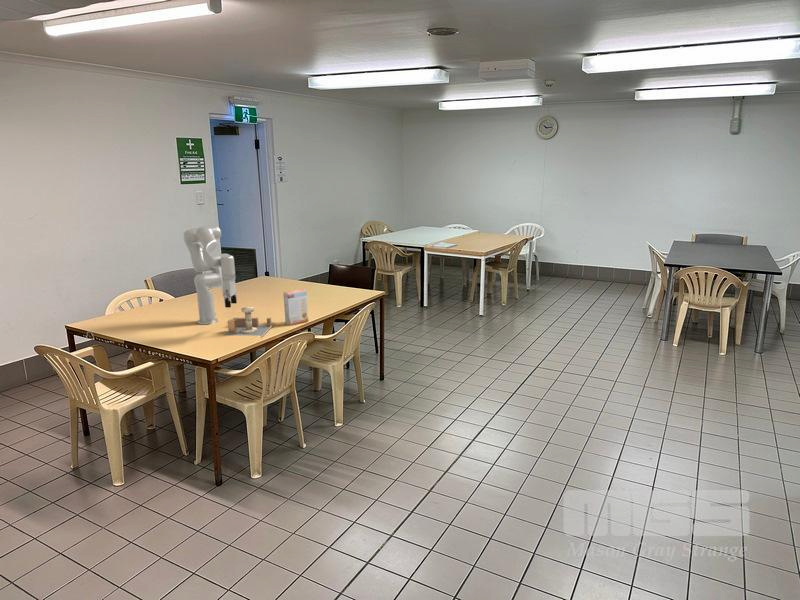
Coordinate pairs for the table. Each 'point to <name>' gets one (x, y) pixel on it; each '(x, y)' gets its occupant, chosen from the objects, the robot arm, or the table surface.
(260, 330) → the grey board with ledge
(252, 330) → the bobbin
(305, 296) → the cracker box
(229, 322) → the copper block
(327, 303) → the table surface
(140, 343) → the table surface
